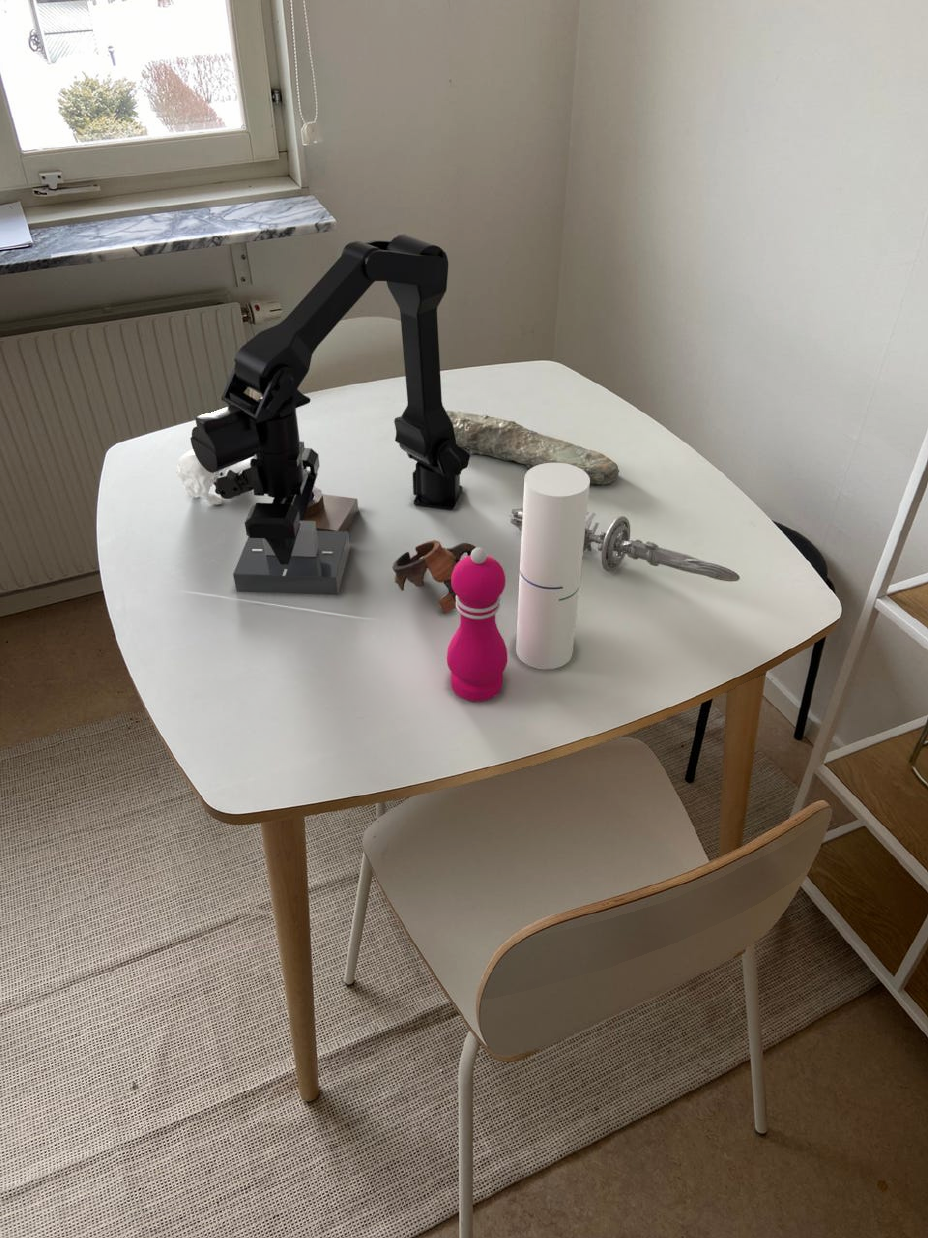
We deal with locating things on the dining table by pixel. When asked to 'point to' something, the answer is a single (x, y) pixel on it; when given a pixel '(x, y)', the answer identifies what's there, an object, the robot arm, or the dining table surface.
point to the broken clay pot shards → (432, 567)
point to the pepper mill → (477, 628)
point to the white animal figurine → (196, 478)
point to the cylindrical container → (550, 563)
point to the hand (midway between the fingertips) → (291, 544)
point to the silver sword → (639, 550)
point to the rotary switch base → (294, 567)
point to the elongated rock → (527, 446)
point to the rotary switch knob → (301, 541)
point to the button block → (331, 511)
